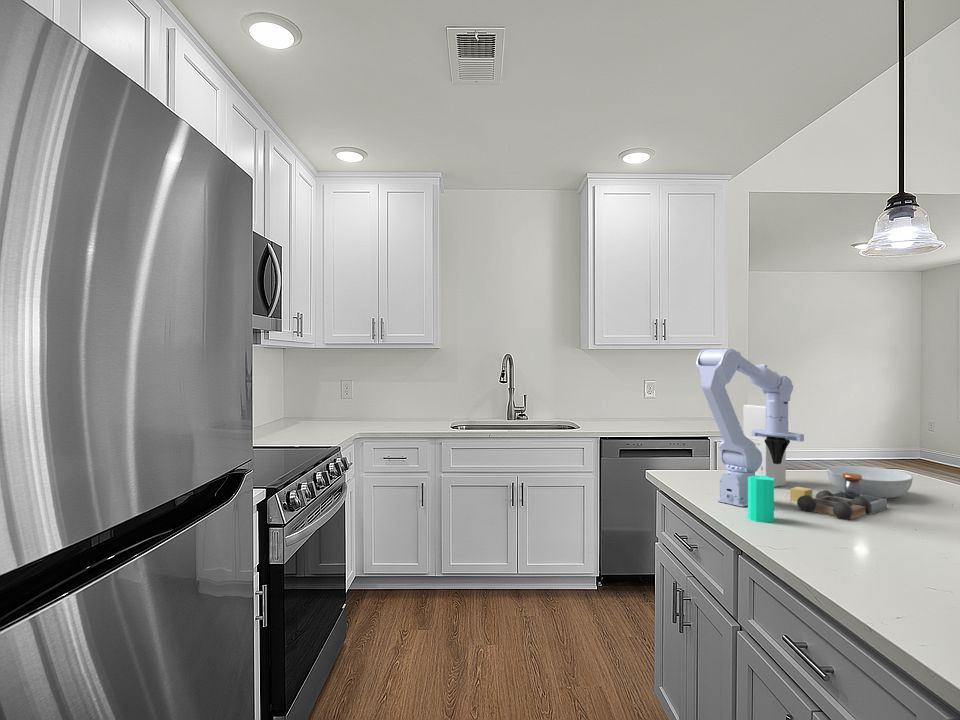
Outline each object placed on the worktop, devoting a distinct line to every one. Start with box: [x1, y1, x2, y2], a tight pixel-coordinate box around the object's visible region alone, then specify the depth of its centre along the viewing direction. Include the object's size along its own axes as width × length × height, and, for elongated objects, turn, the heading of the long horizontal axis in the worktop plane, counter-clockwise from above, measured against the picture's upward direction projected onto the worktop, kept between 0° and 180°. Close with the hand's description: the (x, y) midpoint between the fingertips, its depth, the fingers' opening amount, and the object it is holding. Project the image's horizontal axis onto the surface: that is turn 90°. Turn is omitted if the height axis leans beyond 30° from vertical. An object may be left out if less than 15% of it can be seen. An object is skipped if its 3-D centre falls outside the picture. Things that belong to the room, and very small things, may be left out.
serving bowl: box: [827, 465, 914, 499], centre depth 176 cm, size 21×21×7 cm
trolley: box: [796, 489, 871, 520], centre depth 158 cm, size 13×11×4 cm
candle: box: [747, 475, 775, 523], centre depth 151 cm, size 6×6×12 cm
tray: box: [831, 490, 888, 515], centre depth 164 cm, size 9×12×2 cm
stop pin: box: [843, 473, 862, 500], centre depth 163 cm, size 4×4×8 cm
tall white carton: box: [742, 403, 787, 488], centre depth 191 cm, size 9×9×25 cm
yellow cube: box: [789, 486, 813, 503], centre depth 170 cm, size 4×4×4 cm
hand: (777, 463), depth 176 cm, fingers closed
